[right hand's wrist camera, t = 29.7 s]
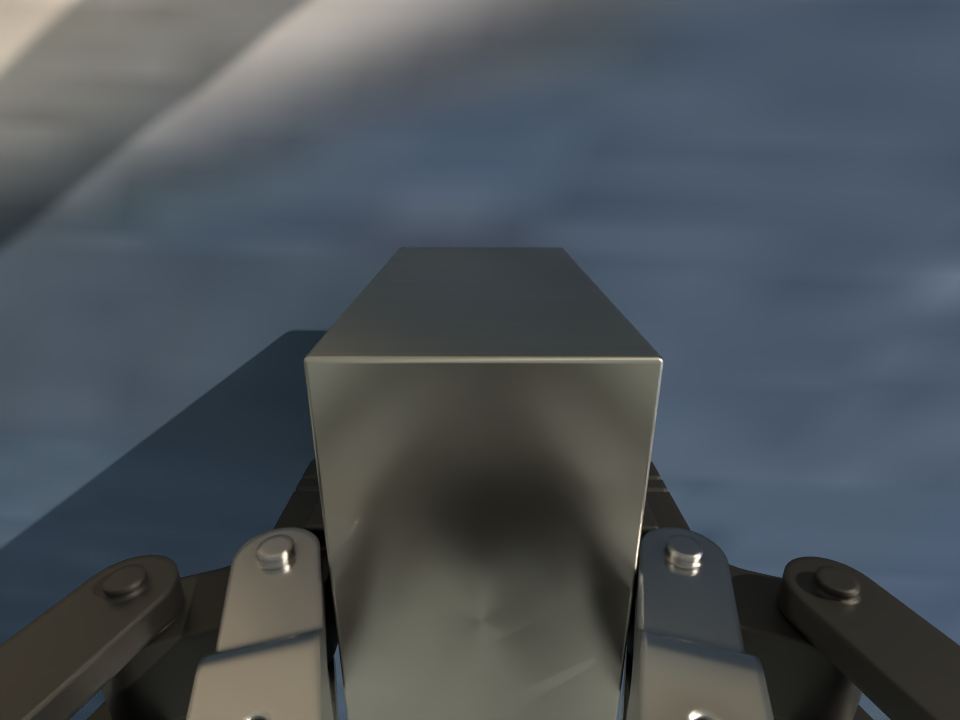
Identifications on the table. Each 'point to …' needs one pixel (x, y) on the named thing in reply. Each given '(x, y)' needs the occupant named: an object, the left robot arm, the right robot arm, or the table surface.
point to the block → (482, 485)
